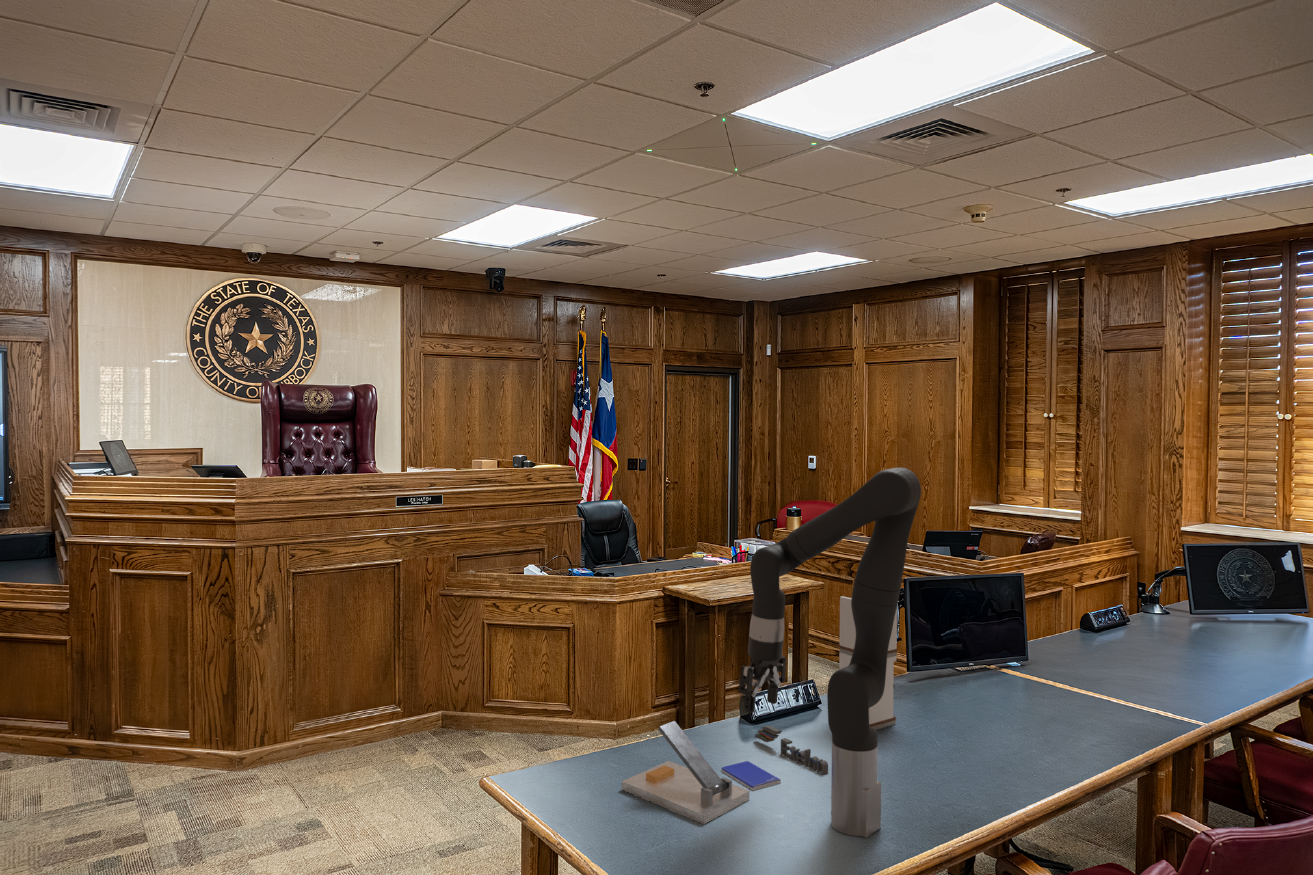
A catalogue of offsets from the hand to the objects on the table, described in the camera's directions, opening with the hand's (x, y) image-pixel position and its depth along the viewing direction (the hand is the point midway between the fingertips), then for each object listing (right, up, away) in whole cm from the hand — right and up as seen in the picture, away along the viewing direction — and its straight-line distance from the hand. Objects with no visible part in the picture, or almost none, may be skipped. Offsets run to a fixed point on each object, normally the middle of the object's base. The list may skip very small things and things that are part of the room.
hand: (760, 707), depth 184 cm
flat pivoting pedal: (-16, -12, +2) cm, 20 cm away
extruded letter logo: (+10, -21, +25) cm, 34 cm away
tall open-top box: (+36, -21, +50) cm, 66 cm away
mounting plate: (-17, -21, +3) cm, 27 cm away
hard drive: (-1, -21, +13) cm, 25 cm away
